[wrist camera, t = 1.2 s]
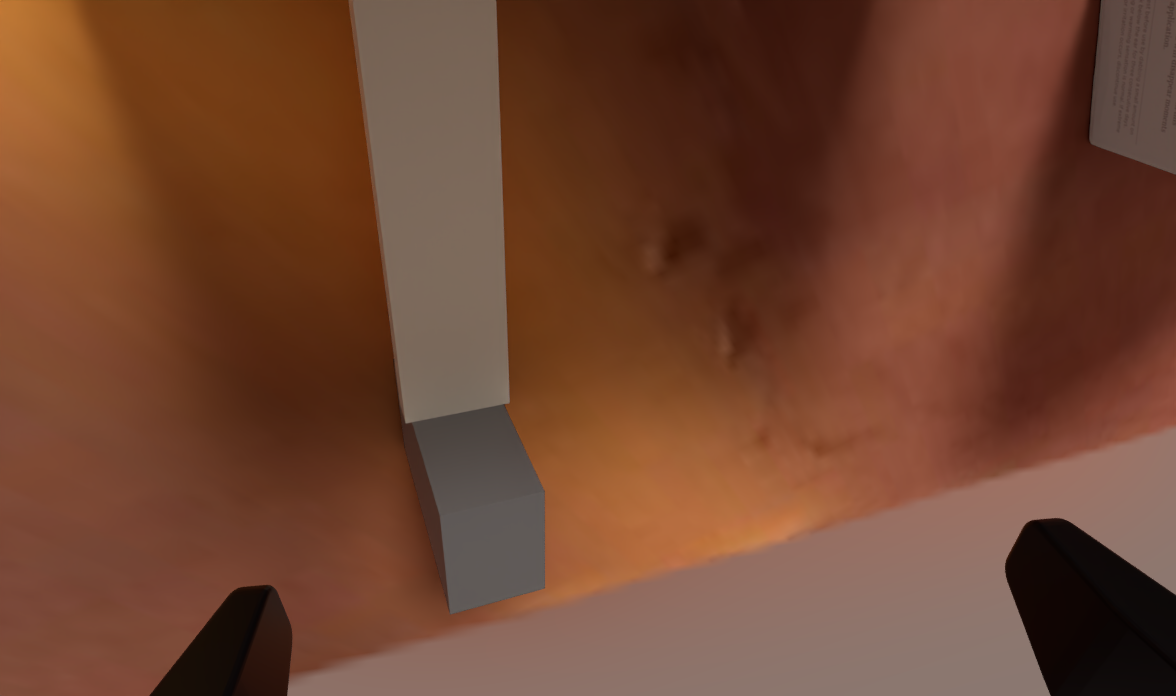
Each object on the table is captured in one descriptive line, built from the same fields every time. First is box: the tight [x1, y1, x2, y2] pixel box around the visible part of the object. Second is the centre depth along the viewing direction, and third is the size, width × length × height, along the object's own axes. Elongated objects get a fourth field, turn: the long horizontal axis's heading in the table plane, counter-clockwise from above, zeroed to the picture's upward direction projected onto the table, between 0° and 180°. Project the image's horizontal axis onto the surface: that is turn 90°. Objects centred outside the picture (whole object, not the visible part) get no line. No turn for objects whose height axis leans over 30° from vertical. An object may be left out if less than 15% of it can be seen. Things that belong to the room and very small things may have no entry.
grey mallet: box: [348, 0, 545, 614], centre depth 16 cm, size 16×2×6 cm, turn 179°
